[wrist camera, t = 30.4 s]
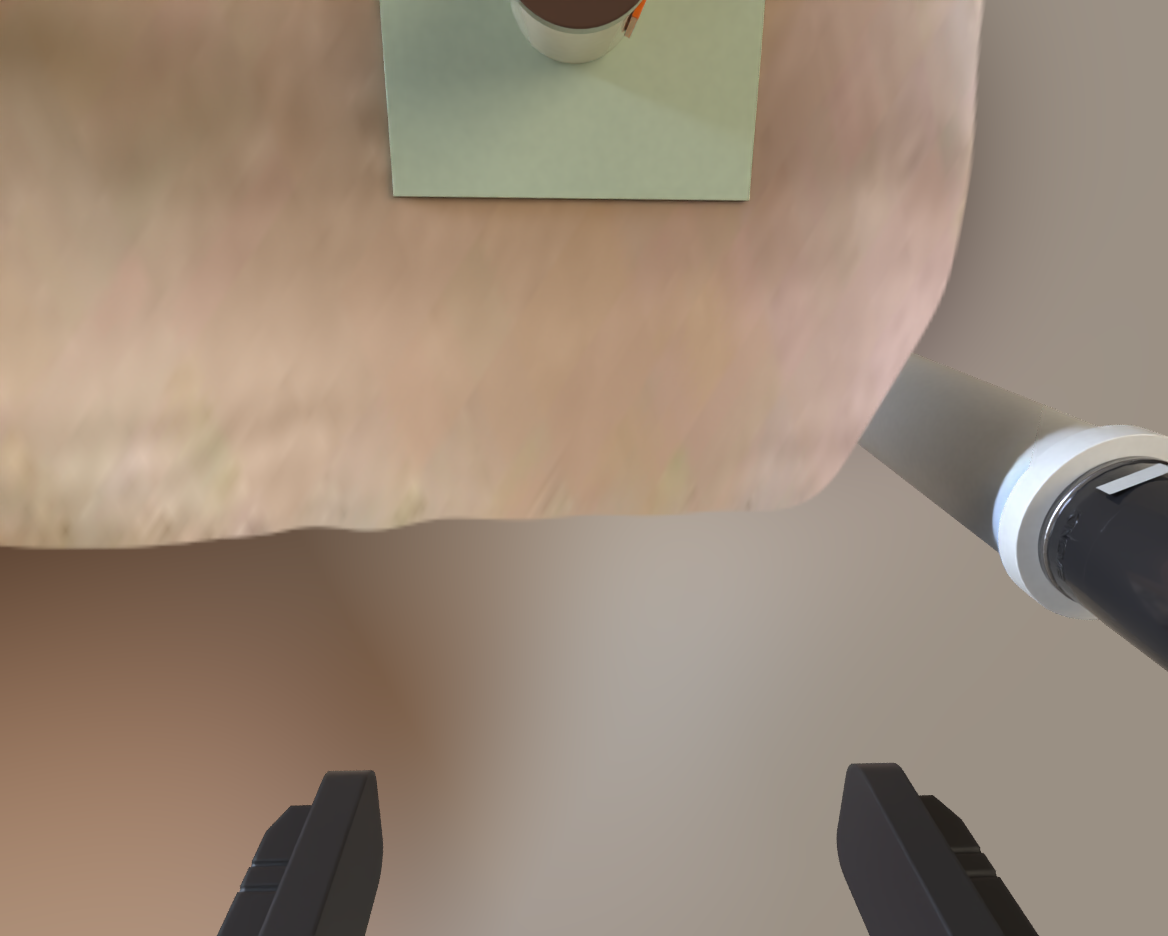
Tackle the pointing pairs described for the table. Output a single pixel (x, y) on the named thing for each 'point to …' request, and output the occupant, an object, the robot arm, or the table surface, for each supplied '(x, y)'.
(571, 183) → the desk mat
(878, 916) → the robot arm
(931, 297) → the table surface
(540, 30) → the jar
